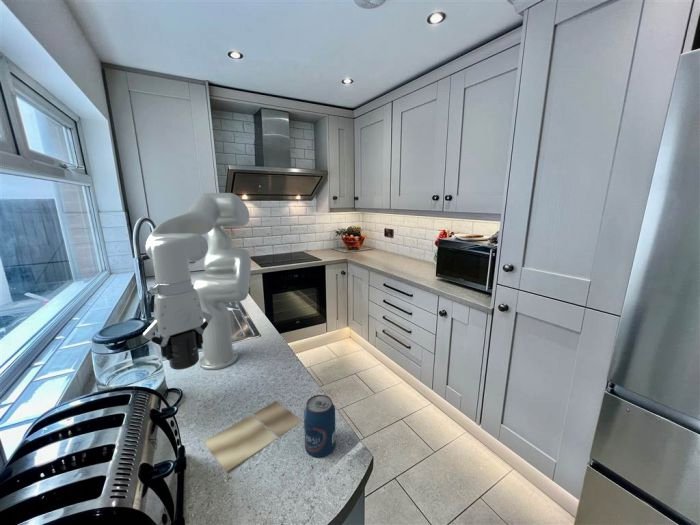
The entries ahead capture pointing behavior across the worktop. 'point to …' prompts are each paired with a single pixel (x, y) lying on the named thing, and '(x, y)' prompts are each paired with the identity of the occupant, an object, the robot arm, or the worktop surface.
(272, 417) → the laid board
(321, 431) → the soda can
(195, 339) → the supplement bottle
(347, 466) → the worktop surface
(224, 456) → the plank
